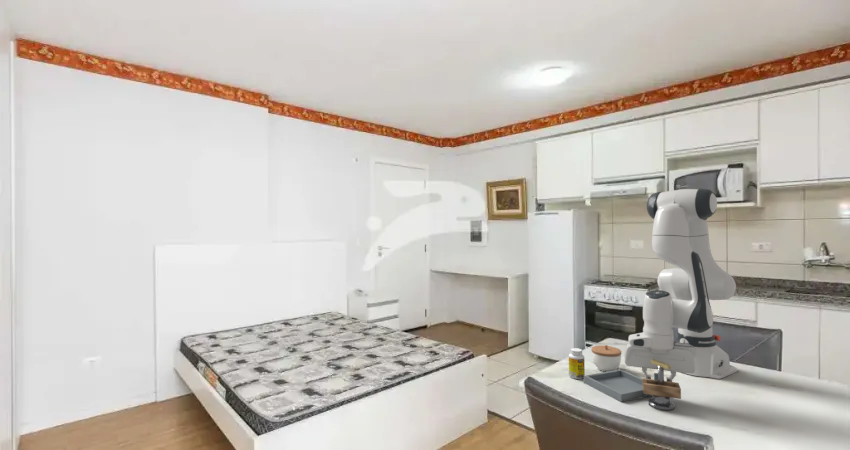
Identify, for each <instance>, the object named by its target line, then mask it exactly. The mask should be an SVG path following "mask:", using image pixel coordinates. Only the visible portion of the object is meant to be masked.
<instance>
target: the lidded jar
mask: <svg viewBox="0 0 850 450" xmlns="http://www.w3.org/2000/svg"><path fill="white" fill-rule="evenodd" d="M590 349H591V358H592V362H593V364H594V365H595V367H596V368H597V369H598V370H599V371H601V372H605V371H606V372H608V371H614V370H618V368H619V367H620V365H621V362H622V361H621V360H622V350H621V349H619V348H617V347H614V346H610V345H608V344H604V345H595V346H592V347H591V348H590Z"/></svg>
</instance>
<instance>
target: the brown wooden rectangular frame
mask: <svg viewBox="0 0 850 450" xmlns="http://www.w3.org/2000/svg"><path fill="white" fill-rule="evenodd" d="M642 382H643V393H644V394H650V395H657V396H664V397H670V399H671V398H672V399H679V400H682V389H681V386H680V384H679V382H675V381H672V382H668V381H666V380H664V386H662V385H658V372H654V373H653V378H651V379H646V377H645V378H644V377H642Z"/></svg>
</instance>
